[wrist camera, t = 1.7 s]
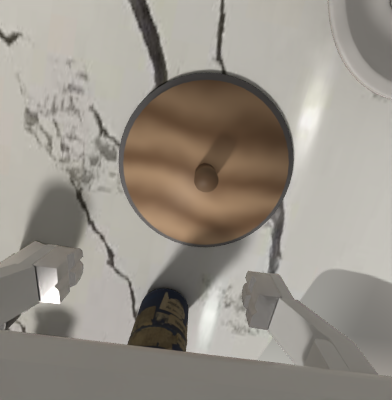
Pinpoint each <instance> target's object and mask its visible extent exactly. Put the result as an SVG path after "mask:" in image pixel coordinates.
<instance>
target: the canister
mask: <svg viewBox="0 0 392 400" xmlns="http://www.w3.org/2000/svg"><path fill="white" fill-rule="evenodd" d="M187 325H188V305H187V302H186V300H185V298H184V297H183V296H182V295H181V294H179V293H178V292H176V291H174V290H170V289H157V290H154V291H152V292H150V293H149V294H147V295H146V296H145V298H144V299H143V301H142V303H141V306H140V309H139V312H138V315H137V318H136V321H135V324H134V327H133V329H132V332H131V336H130V338H129V341H128V344H127V345H133V346H141V347H150V348H158V349H167V350H175V351H183V352H186V346H187Z"/></svg>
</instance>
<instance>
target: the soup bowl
mask: <svg viewBox="0 0 392 400" xmlns="http://www.w3.org/2000/svg"><path fill="white" fill-rule="evenodd" d="M328 10H329V20H330V25H331V31H332V34H333V38H334V42H335V45H336V47H337V50H338V52H339V55H340V56H341V58H342V60H343V62H344V64H345V65H346V67H347V68H348V70H349V71H350V73H351V74H352V75H353V76H354V77H355V78H356V79H357V80H358V81H359V82H360V83H361V84H362V85H363V86H365V87H366V88H367V89H369V90H371V91H372V92H374V93H376V94H378V95H380V96H382V97H385V98H388V99H391V100H392V8H391V6H390V0H328Z"/></svg>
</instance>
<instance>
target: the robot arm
mask: <svg viewBox="0 0 392 400" xmlns="http://www.w3.org/2000/svg"><path fill="white" fill-rule="evenodd" d="M82 257H83V251H82V250H81V249H80V248H73V247H67V246H59V245H53V244H47V245H45V246H44V247H42V248H41V249H39V250H38V251H36V252H35V253H33V254H32V255H31V256H29V257H28V258H26V259H25V260H23V261H22V262H20V263H19V264H12V265H8V266H5V267H2V268H0V326H1V325H2V324H4V323H6V322H7V321H9V320H11V319H13V318H14V317H16V316H18V315H19V314H21V313H23V312H24V311H26V310H28V309H30V308H31V307H33V306H35V305H36V304H38V303H39V302H48V303H59V304H60V303H61V302H62V300H63V299H64V298H65V297H66V296H67V295H68V293H69V292H70V287H72V286H74V285H76V284H77V283H78V281H79V280H80V278H81V276H82V274H83V263H82V262H81V261H80V259H81V258H82ZM245 278H246V281H247V283H245V284H244V285H243V289H242V302H243V306H244V307H245V308H246V309H247V310H246V318H247V321H248V325H249V327H251V328H258V329H264V330H268V332H269V333H270V334H271V336H272V337H273V338H274V339H275V341H276V342H277V343H278V344H279V345H280V347H281V348H282V349H283V350H284V352H285V353H286V354H287V355H288V356H289V358H290V359H291V360H292V361H293V363H294V364H295V365H291V364H283V363H274V362H266V361H258V360H249V359H241V358H232V357H224V356H216V355H208V354H200V353H191V352H183V351H175V350H167V349H158V348H150V347H141V346H133V345H125V344H116V343H108V342H100V341H91V340H83V339H75V338H66V337H58V336H50V335H41V334H33V333H24V332H16V331H8V330H0V400H392V377H391V376H382V375H378V373H377V372H376V371H375V369H374V368H373V367H372V366H371V364H370V363H369V362H368V360H367V359H366V357H365V356H364V355H363V353H362V352H361V351H360V349H359V348H358V347H357V345H356V344H355V343H354V342H353V341H352V340H350V339H349V338H348V337H346V336H345V335H343V334H342V333H341V332H339V331H338V330H337V329H336V328H334V327H333V326H332V325H330V324H329V323H328V322H326V321H325V320H324V319H322V318H321V317H320V316H318V315H317V314H315V313H314V312H313V311H312V310H310V309H309V308H308V307H306V306H305V305H303V304H302V303H301V302H300V301H298V300H294V298H293V296H292V295H291V293H290V291H289V290H288V288H287V286H286V285H285V283H284V281H283V280H282V278H281V276H280V275H279V274H272V273H260V272H252V271H248V272H247V274H246V277H245Z"/></svg>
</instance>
